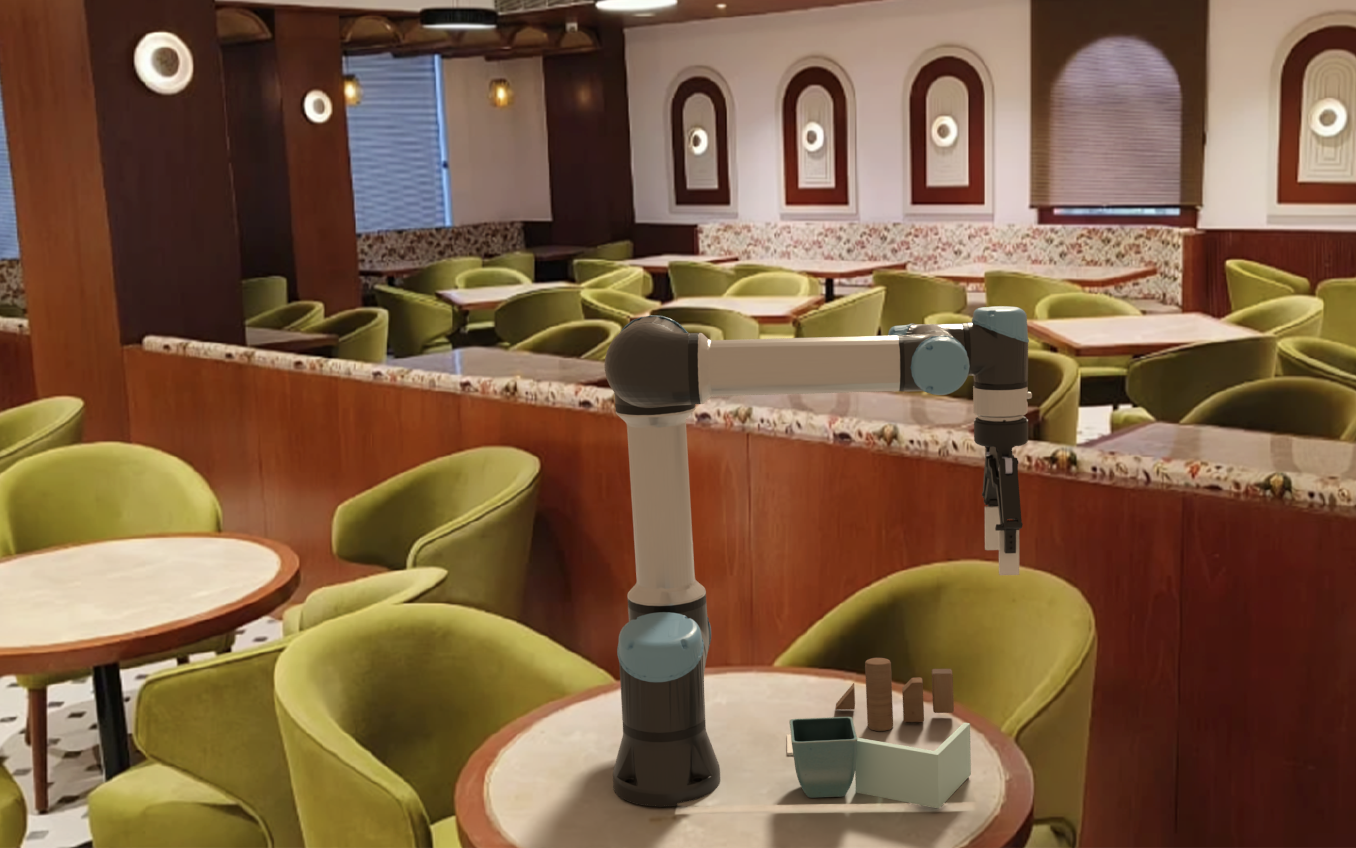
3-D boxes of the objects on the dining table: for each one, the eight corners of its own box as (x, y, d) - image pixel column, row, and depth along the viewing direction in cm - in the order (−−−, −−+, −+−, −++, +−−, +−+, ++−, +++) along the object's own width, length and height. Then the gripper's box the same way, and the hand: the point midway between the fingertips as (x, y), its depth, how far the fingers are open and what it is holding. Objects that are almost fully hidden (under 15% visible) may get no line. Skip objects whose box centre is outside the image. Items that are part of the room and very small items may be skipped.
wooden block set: (953, 714, 226) (950, 649, 225) (955, 731, 217) (952, 663, 216) (836, 715, 228) (833, 650, 228) (834, 732, 220) (831, 665, 219)
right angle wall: (970, 774, 203) (969, 723, 202) (938, 808, 193) (937, 755, 191) (890, 760, 209) (889, 710, 208) (855, 792, 199) (854, 740, 198)
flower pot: (791, 778, 204) (788, 718, 203) (854, 776, 204) (852, 715, 202) (794, 805, 196) (791, 742, 194) (860, 803, 195) (858, 740, 194)
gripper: (1043, 431, 194) (1043, 585, 198) (1013, 401, 218) (1013, 539, 222) (986, 432, 194) (987, 586, 198) (962, 403, 219) (963, 540, 223)
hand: (1001, 561), depth 210 cm, fingers open, 13 cm apart
